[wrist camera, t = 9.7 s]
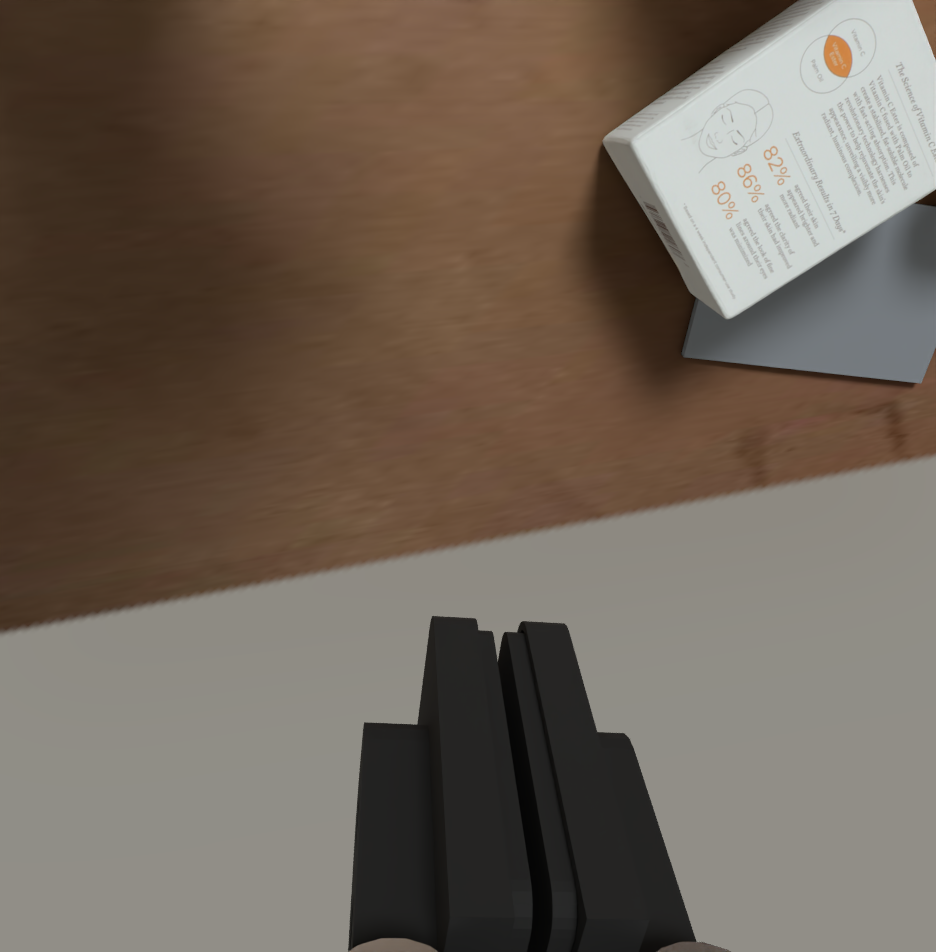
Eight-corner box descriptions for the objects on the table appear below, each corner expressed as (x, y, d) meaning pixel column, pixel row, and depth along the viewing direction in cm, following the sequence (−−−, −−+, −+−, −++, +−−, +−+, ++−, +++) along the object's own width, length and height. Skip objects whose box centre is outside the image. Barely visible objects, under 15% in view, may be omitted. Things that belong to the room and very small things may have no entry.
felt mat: (727, 177, 36) (730, 178, 36) (983, 212, 38) (989, 214, 37) (681, 354, 40) (683, 357, 39) (916, 380, 41) (921, 383, 41)
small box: (687, 297, 38) (906, 158, 36) (727, 325, 33) (985, 164, 31) (597, 135, 35) (829, -24, 33) (626, 138, 30) (902, -51, 28)
